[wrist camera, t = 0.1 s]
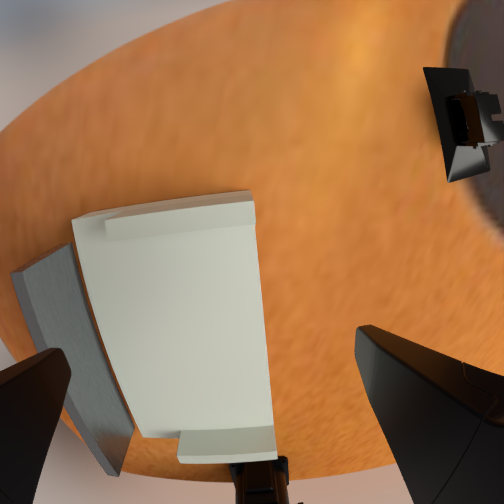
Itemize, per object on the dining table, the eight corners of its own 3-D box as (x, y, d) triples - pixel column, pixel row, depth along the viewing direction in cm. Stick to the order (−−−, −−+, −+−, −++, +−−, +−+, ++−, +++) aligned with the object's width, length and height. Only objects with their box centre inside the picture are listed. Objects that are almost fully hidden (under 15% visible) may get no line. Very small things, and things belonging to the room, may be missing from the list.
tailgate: (135, 426, 24) (118, 476, 18) (125, 426, 24) (107, 475, 18) (72, 242, 19) (21, 271, 13) (60, 243, 19) (10, 273, 13)
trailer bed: (271, 410, 27) (277, 459, 21) (149, 415, 27) (136, 460, 21) (249, 190, 21) (253, 200, 16) (90, 212, 21) (47, 229, 16)
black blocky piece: (493, 184, 22) (526, 191, 18) (438, 199, 23) (471, 208, 18) (465, 54, 19) (496, 43, 14) (404, 52, 19) (433, 36, 15)
